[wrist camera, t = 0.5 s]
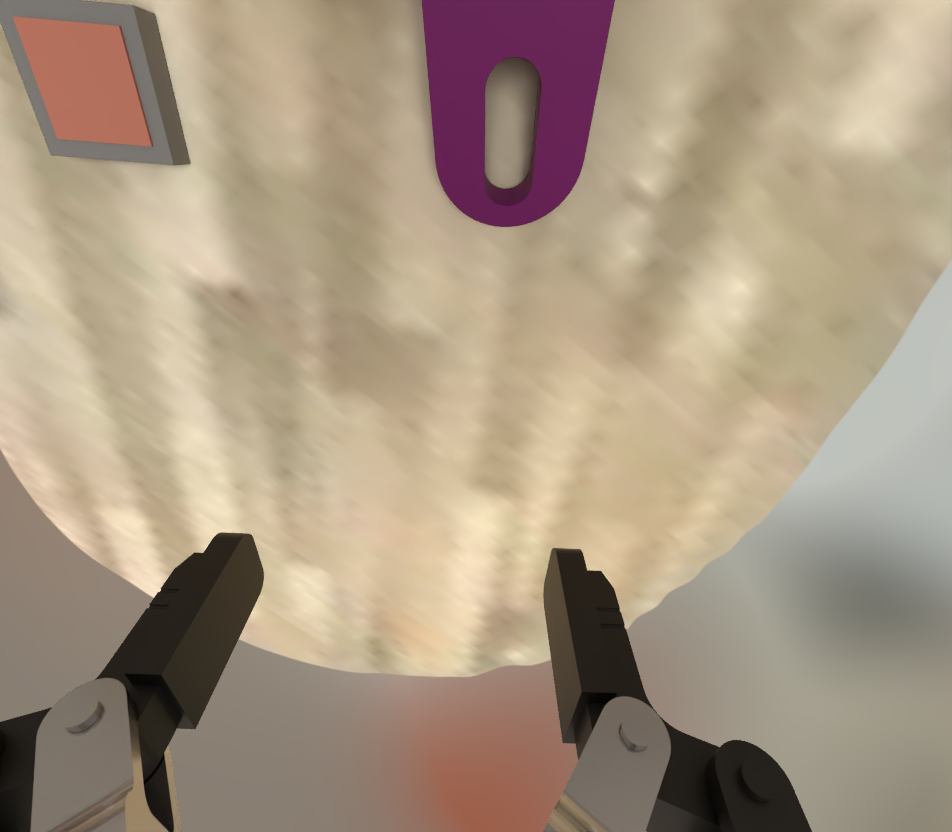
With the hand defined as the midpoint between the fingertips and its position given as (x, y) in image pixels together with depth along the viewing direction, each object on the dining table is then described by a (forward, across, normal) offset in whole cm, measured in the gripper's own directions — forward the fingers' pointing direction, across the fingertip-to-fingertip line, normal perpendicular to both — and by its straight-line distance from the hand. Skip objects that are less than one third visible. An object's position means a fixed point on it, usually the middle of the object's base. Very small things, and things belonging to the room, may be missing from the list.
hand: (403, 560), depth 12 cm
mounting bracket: (+28, -3, -14) cm, 32 cm away
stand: (+28, +23, -11) cm, 38 cm away
